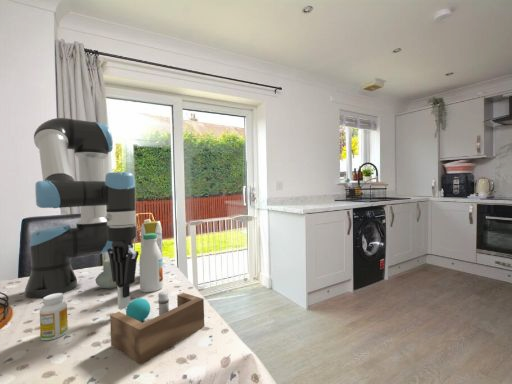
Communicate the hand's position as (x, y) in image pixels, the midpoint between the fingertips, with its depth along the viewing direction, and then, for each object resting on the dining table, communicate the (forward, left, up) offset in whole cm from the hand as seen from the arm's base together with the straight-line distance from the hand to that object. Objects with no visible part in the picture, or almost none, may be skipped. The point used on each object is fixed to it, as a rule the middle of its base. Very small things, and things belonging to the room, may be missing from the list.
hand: (124, 307), depth 74 cm
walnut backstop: (+19, -1, -2) cm, 19 cm away
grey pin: (+16, +2, -2) cm, 16 cm away
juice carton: (-24, +25, -2) cm, 35 cm away
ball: (+8, 0, +1) cm, 8 cm away
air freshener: (-27, +10, -2) cm, 29 cm away
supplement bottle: (-4, -15, -2) cm, 16 cm away
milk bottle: (-11, +16, -2) cm, 20 cm away
